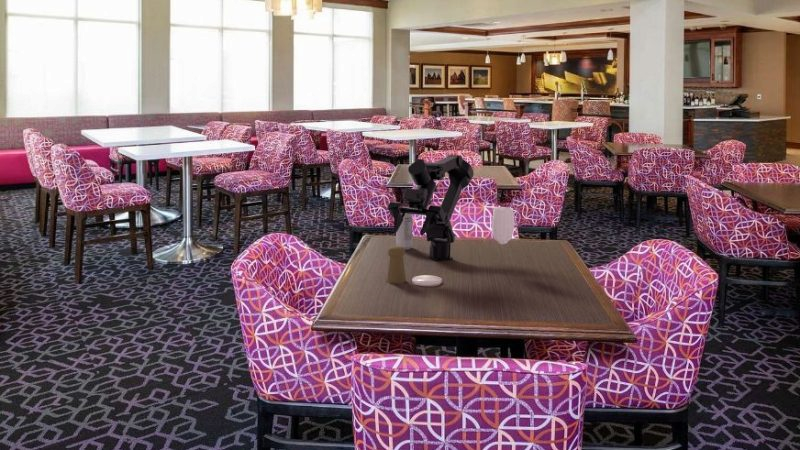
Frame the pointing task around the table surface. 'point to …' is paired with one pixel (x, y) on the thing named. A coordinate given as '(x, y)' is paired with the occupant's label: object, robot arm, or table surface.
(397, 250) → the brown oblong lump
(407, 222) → the energy drink can
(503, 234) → the cup
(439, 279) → the coaster
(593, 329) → the table surface
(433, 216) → the robot arm
